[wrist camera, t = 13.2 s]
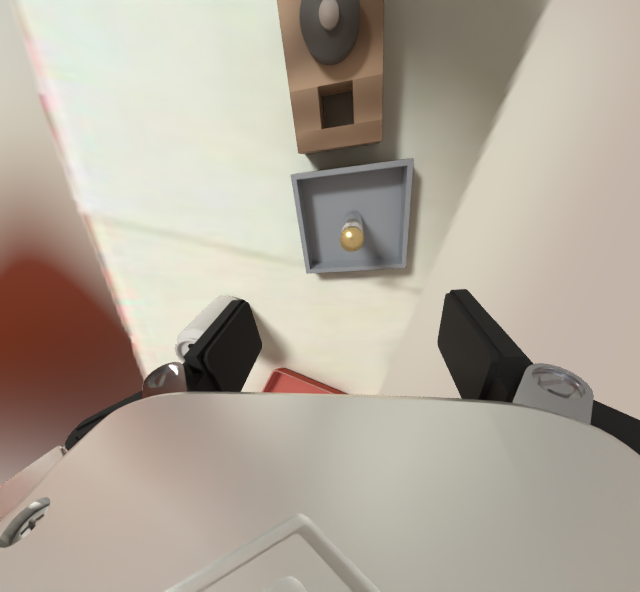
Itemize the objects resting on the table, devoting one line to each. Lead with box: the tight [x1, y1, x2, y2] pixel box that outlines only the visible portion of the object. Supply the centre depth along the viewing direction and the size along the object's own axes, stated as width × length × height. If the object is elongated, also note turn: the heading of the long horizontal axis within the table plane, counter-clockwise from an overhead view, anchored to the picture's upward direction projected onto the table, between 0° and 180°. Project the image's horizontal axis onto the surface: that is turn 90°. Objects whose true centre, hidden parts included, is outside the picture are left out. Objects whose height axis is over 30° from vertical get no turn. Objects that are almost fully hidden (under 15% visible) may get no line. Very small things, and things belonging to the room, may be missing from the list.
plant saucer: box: [262, 368, 343, 394], centre depth 53 cm, size 18×18×3 cm
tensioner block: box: [277, 0, 384, 154], centre depth 22 cm, size 12×9×6 cm
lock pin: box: [340, 211, 364, 252], centre depth 27 cm, size 2×2×10 cm
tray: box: [291, 158, 414, 274], centre depth 31 cm, size 13×14×3 cm
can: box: [175, 296, 238, 363], centre depth 38 cm, size 8×8×12 cm
